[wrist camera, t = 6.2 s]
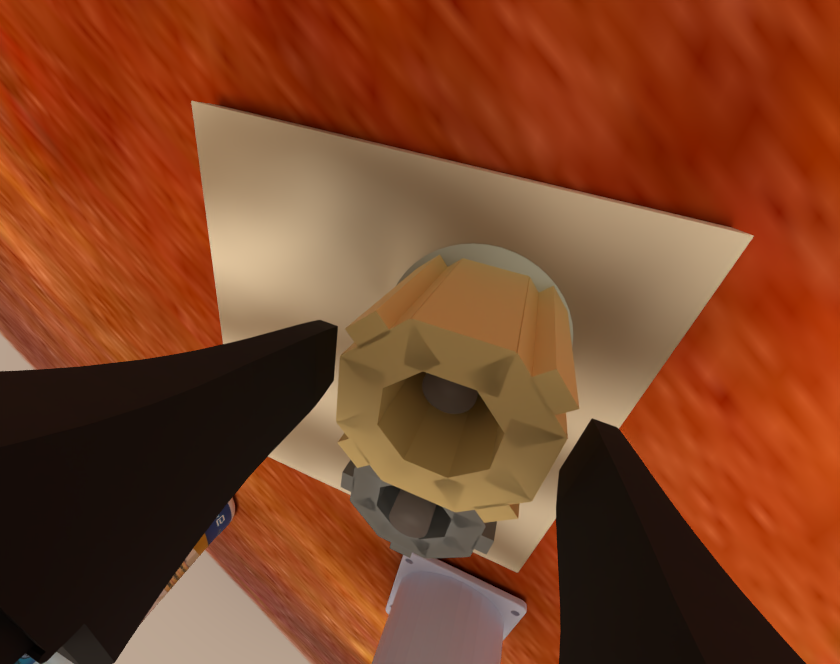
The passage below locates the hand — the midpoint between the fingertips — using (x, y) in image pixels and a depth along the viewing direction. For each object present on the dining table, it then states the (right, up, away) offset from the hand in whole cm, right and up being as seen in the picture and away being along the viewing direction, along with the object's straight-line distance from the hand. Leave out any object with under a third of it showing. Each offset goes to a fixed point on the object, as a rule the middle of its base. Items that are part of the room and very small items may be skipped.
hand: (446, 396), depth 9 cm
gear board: (-2, 0, +7) cm, 7 cm away
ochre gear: (+1, +2, +3) cm, 4 cm away
